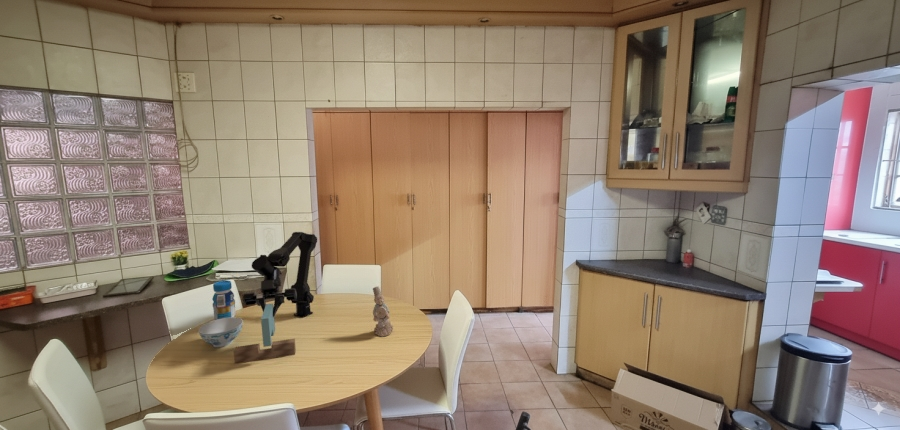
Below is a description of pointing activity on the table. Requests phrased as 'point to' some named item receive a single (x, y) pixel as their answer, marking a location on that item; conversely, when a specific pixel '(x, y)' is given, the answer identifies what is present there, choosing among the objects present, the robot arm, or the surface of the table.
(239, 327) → the chinaware
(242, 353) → the walnut slotted rail
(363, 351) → the table surface
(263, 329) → the teal slotted plate
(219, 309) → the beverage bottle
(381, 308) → the figurine
